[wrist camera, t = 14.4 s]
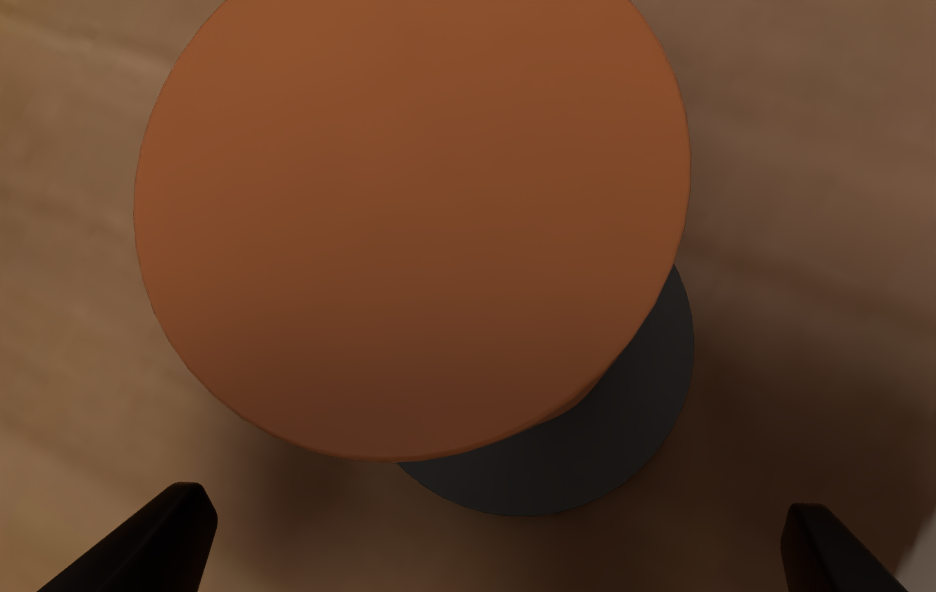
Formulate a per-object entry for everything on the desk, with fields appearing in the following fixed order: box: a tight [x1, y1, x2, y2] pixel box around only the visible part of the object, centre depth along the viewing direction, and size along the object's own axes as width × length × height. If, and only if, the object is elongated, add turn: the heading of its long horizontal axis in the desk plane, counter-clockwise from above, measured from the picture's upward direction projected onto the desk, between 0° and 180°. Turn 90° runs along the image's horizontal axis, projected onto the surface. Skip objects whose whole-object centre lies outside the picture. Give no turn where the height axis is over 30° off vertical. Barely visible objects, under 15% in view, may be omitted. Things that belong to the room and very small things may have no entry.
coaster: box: [397, 264, 694, 516], centre depth 16 cm, size 9×9×1 cm
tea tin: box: [133, 0, 691, 463], centre depth 11 cm, size 5×5×11 cm
